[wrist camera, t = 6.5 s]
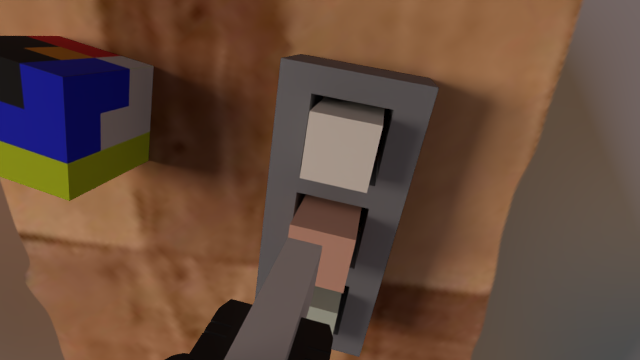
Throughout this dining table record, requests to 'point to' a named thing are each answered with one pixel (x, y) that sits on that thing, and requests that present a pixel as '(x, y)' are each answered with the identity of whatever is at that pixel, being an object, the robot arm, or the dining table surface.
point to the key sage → (324, 306)
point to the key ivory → (342, 143)
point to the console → (380, 200)
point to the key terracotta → (328, 236)
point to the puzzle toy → (70, 114)
